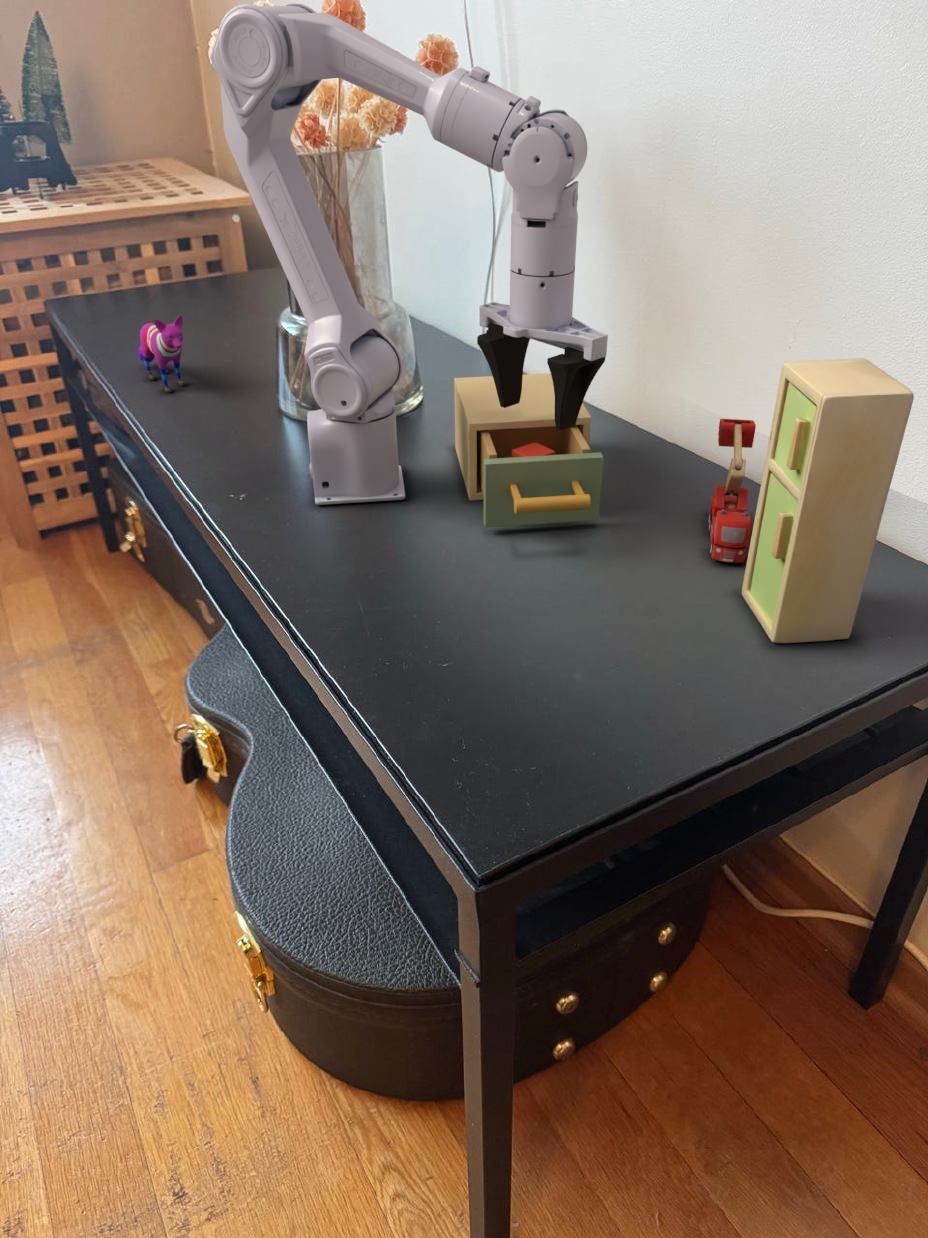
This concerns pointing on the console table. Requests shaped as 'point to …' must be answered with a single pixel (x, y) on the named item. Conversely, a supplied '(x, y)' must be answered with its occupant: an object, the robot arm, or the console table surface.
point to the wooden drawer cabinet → (501, 417)
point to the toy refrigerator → (823, 496)
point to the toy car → (532, 450)
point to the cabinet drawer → (538, 477)
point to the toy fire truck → (731, 512)
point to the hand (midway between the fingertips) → (537, 415)
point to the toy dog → (162, 347)
